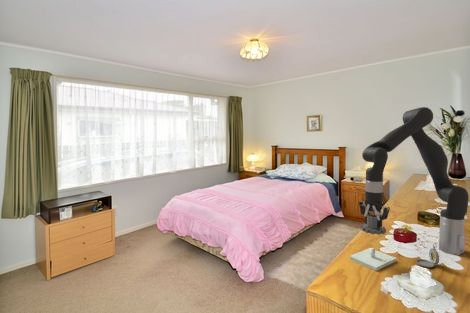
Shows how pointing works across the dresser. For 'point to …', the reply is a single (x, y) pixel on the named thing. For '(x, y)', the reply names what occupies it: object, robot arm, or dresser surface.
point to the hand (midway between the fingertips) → (373, 225)
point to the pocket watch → (433, 257)
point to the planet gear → (372, 225)
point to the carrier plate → (373, 259)
